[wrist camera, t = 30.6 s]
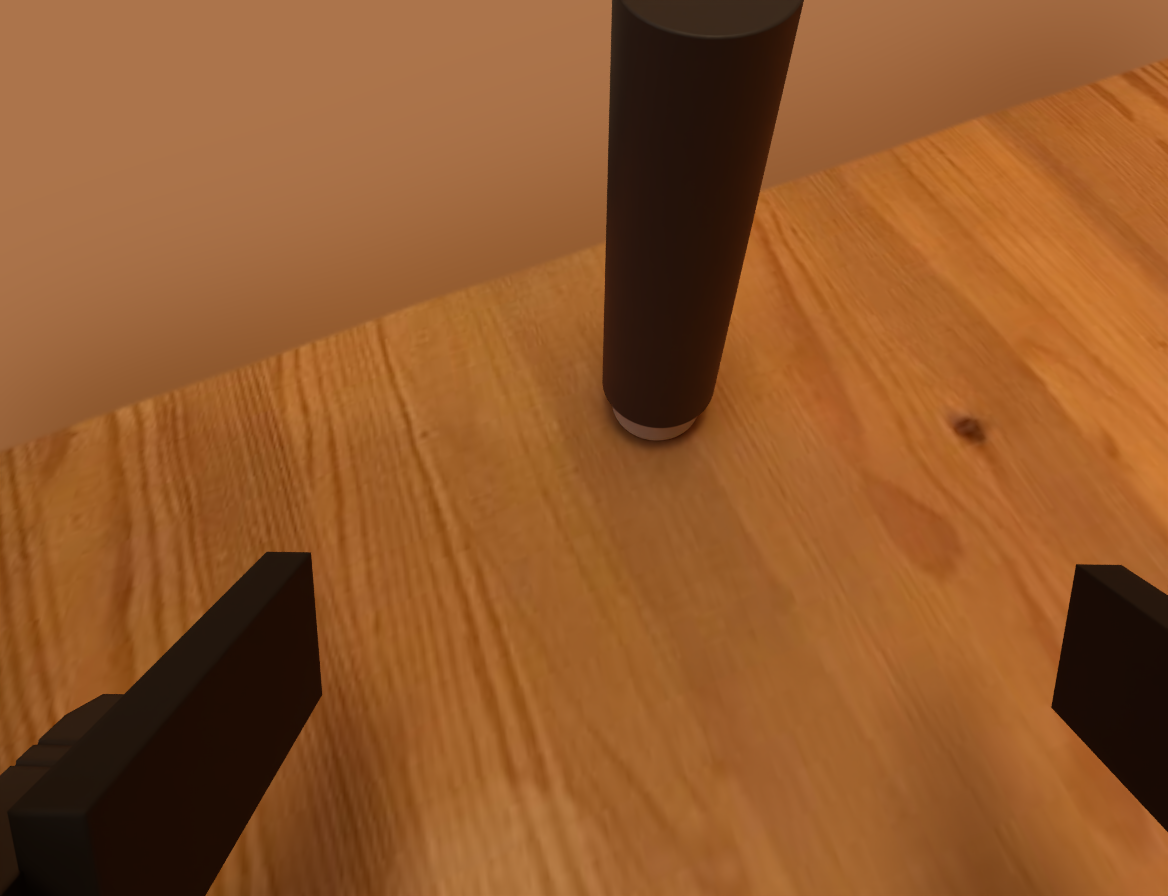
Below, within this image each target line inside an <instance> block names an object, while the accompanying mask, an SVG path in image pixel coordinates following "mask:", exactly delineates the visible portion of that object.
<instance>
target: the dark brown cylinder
mask: <svg viewBox="0 0 1168 896" xmlns="http://www.w3.org/2000/svg"><path fill="white" fill-rule="evenodd" d="M803 2H804V0H612V29H611V30H612V31H611V68H610V69H611V70H610V108H609V146H608V147H609V148H608V185H607V187H608V188H607V225H606V263H605V302H604V341H603V389H604V392H605V395H606V397H607V399H608V401H609V402H610V404H611V405H612V408H613V412H614V414H615V417H616V419H617V420H618V421H619V423H620V424H621V425H622V426H623V427H624V428H625V429H626V430H627V431H629V432H630V433H632V434H633V435H635V436H637V437H640V438H643V439H647V440H667V439H671V438H674V437H676V436H678V435H680V434H682V433H683V432H685V431H686V430H687V429H689V428H690V427H691V425H692V424H693V423H694V421H695V420H696V417H697V416H698V415H699V414H701V413H702V412H703V411H704V409H705V408H706V407H707V406H708V404H709V402H710V400H711V398H712V396H713V392H714V387H715V383H716V379H717V374H718V370H719V366H720V361H721V357H722V353H723V348H724V344H725V340H726V335H727V331H728V327H729V322H730V318H731V314H732V309H733V305H734V301H735V296H736V292H737V288H738V283H739V279H740V275H741V270H742V266H743V262H744V257H745V253H746V249H747V244H748V240H749V236H750V231H751V227H752V223H753V218H754V214H755V210H756V205H757V201H758V197H759V192H760V188H761V184H762V179H763V175H764V171H765V166H766V162H767V158H768V153H769V148H770V144H771V140H772V136H773V131H774V127H775V123H776V118H777V114H778V110H779V105H780V101H781V97H782V92H783V88H784V84H785V79H786V75H787V71H788V67H789V62H790V58H791V54H792V49H793V45H794V41H795V36H796V32H797V27H798V23H799V19H800V14H801V10H802V6H803Z"/></svg>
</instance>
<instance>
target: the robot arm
mask: <svg viewBox="0 0 1168 896" xmlns="http://www.w3.org/2000/svg"><path fill="white" fill-rule="evenodd" d="M321 696H322V686H321V673H320V661H319V648H318V636H317V623H316V610H315V598H314V585H313V572H312V560H311V553H309V552H266V553H265V554H264V555H263V556H262V557H261V558H260V559H259V560H258V561H257V562H256V563H255V564H254V565H253V566H252V567H251V568H250V569H249V570H248V571H247V572H246V573H245V574H244V575H243V576H242V577H241V578H240V579H239V580H238V581H237V582H236V583H235V584H234V585H233V586H232V587H231V588H230V589H229V590H228V591H227V592H226V593H225V594H224V595H223V596H222V597H221V598H220V599H219V600H218V601H217V602H216V603H215V604H214V605H213V606H212V607H211V608H210V609H209V610H208V611H207V612H206V613H205V614H204V615H203V616H202V617H201V618H200V619H199V620H198V621H197V622H196V623H195V624H194V625H193V626H192V627H191V628H190V629H189V630H188V631H187V632H186V633H185V634H184V635H183V636H182V637H181V638H180V639H179V640H178V641H177V642H176V643H175V644H174V645H173V646H172V647H171V648H170V649H169V650H168V651H167V652H166V653H165V654H164V655H163V656H162V657H161V658H160V659H159V660H158V661H157V662H156V663H155V664H154V665H153V666H152V667H151V668H150V669H149V670H148V671H147V672H146V673H145V674H144V675H143V676H142V677H141V678H140V679H139V680H138V681H137V682H136V683H135V684H134V685H133V686H132V687H131V688H130V689H129V690H128V691H127V692H126V693H125V694H102V695H101V696H99V697H97V698H95V699H93V700H92V701H90V702H88V703H86V704H84V705H83V706H81V707H79V708H77V709H75V710H74V711H72V712H70V713H68V714H66V715H65V716H64V717H63V718H62V719H61V720H60V721H58V722H57V723H56V724H55V725H54V726H53V727H52V728H51V729H50V730H49V731H48V732H47V733H46V734H44V735H43V736H42V737H41V738H40V739H39V742H38V745H33V746H32V747H30V748H29V749H28V750H27V751H26V752H25V753H24V754H23V755H22V756H21V757H20V758H19V759H18V760H16V765H15V766H10V767H9V768H8V769H7V770H6V771H5V772H4V773H2V774H1V775H0V896H205V895H206V893H207V892H208V890H209V888H210V887H211V885H212V883H213V881H214V880H215V878H216V876H217V875H218V873H219V871H220V869H221V868H222V866H223V864H224V863H225V861H226V859H227V857H228V856H229V854H230V852H231V850H232V849H233V847H234V845H235V844H236V842H237V840H238V838H239V837H240V835H241V833H242V832H243V830H244V828H245V826H246V825H247V823H248V821H249V820H250V818H251V816H252V814H253V813H254V811H255V809H256V807H257V806H258V804H259V802H260V801H261V799H262V797H263V795H264V794H265V792H266V790H267V789H268V787H269V785H270V783H271V782H272V780H273V778H274V777H275V775H276V773H277V771H278V770H279V768H280V766H281V764H282V763H283V761H284V759H285V758H286V756H287V754H288V752H289V751H290V749H291V747H292V746H293V744H294V742H295V740H296V739H297V737H298V735H299V734H300V732H301V730H302V728H303V727H304V725H305V723H306V722H307V720H308V718H309V716H310V715H311V713H312V711H313V709H314V708H315V706H316V704H317V703H318V701H319V699H320V697H321ZM1051 708H1052V709H1053V710H1054V711H1055V712H1056V713H1057V714H1058V715H1059V716H1060V717H1061V718H1062V719H1063V720H1064V721H1065V723H1066V724H1067V725H1068V726H1069V727H1070V728H1071V729H1072V730H1073V731H1074V732H1075V733H1076V734H1077V735H1078V736H1079V738H1080V739H1081V740H1082V741H1083V742H1084V743H1085V744H1086V745H1087V746H1088V747H1089V748H1090V749H1091V750H1092V751H1093V753H1094V754H1095V755H1096V756H1097V757H1098V758H1099V759H1100V760H1101V761H1102V762H1103V763H1104V764H1105V765H1106V766H1107V768H1108V769H1109V770H1110V771H1111V772H1112V773H1113V774H1114V775H1115V776H1116V777H1117V778H1118V779H1119V780H1120V781H1121V783H1122V784H1123V785H1124V786H1125V787H1126V788H1127V789H1128V790H1129V791H1130V792H1131V793H1132V794H1133V795H1134V796H1135V798H1136V799H1137V800H1138V801H1139V802H1140V803H1141V804H1142V805H1143V806H1144V807H1145V808H1146V809H1147V810H1148V811H1149V813H1150V814H1151V815H1152V816H1153V817H1154V818H1155V819H1156V820H1157V821H1158V822H1159V823H1160V824H1161V825H1162V826H1163V828H1164V829H1165V830H1166V831H1167V832H1168V595H1166V594H1165V593H1163V592H1162V591H1160V590H1159V589H1157V588H1156V587H1154V586H1153V585H1151V584H1149V583H1148V582H1146V581H1145V580H1143V579H1142V578H1140V577H1139V576H1137V575H1136V574H1134V573H1133V572H1131V571H1130V570H1128V569H1127V568H1125V567H1124V566H1122V565H1082V564H1076V569H1075V575H1074V580H1073V586H1072V592H1071V597H1070V603H1069V609H1068V615H1067V620H1066V626H1065V632H1064V638H1063V643H1062V649H1061V655H1060V661H1059V666H1058V672H1057V678H1056V684H1055V689H1054V695H1053V701H1052V706H1051Z"/></svg>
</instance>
